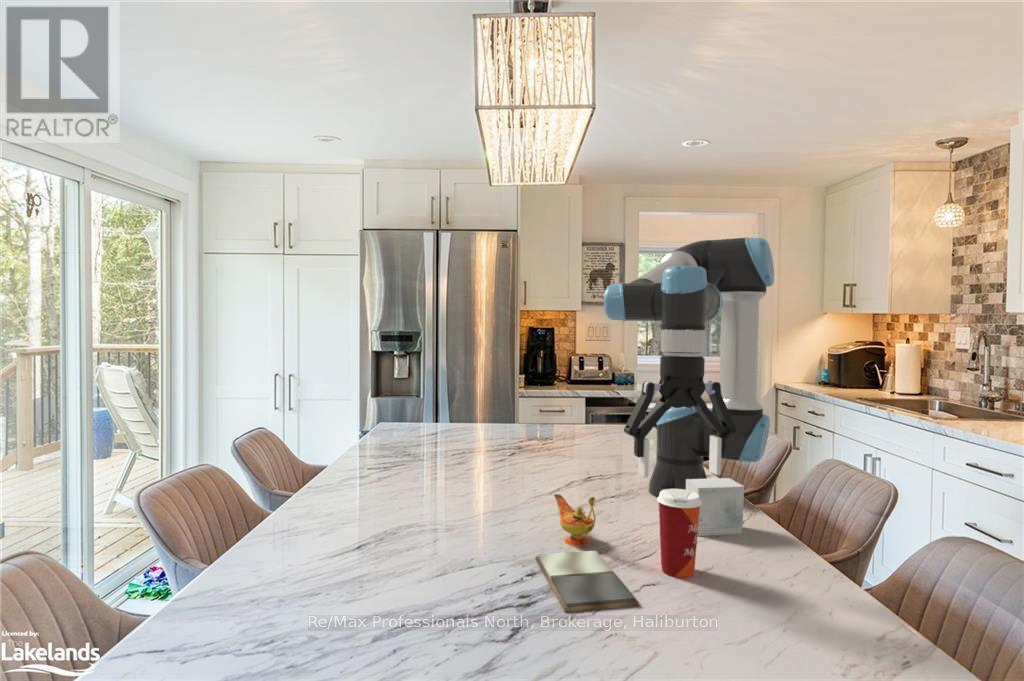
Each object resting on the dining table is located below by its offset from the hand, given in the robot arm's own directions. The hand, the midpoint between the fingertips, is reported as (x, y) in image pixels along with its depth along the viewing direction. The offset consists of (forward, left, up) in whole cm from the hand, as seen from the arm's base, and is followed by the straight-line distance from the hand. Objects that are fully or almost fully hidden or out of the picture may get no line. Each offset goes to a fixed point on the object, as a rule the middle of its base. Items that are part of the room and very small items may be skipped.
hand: (679, 474), depth 105 cm
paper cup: (0, 0, -18) cm, 18 cm away
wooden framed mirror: (+18, +1, -18) cm, 25 cm away
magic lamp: (+14, -18, -18) cm, 29 cm away
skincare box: (-17, -18, -18) cm, 31 cm away
